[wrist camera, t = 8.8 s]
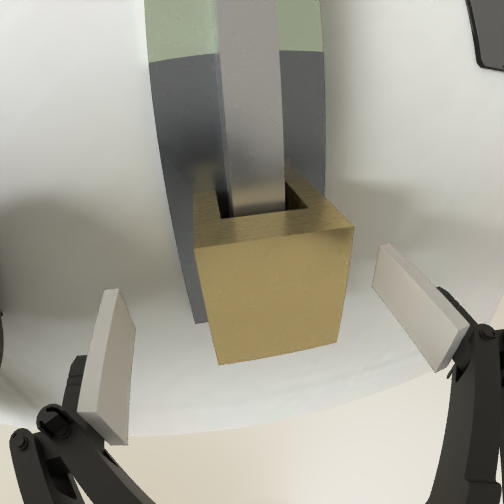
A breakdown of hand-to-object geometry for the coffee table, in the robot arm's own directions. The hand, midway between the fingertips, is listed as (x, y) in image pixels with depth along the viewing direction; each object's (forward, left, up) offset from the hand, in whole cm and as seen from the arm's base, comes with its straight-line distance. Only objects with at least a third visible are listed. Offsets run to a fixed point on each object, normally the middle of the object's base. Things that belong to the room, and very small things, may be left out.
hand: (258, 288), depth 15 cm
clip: (+1, 0, -4) cm, 5 cm away
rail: (0, +7, -5) cm, 9 cm away
